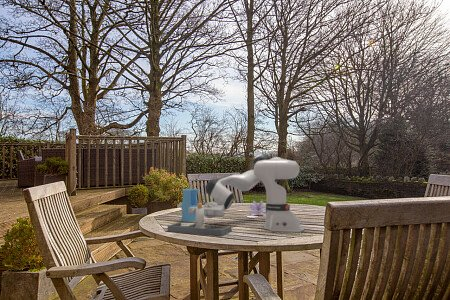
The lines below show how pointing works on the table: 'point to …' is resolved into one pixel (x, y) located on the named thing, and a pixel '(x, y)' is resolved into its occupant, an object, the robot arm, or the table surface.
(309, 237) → the table surface
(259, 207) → the water lily
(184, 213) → the vase
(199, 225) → the orange capped bottle
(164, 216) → the table surface
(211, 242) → the table surface
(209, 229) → the cable organizer
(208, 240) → the table surface
